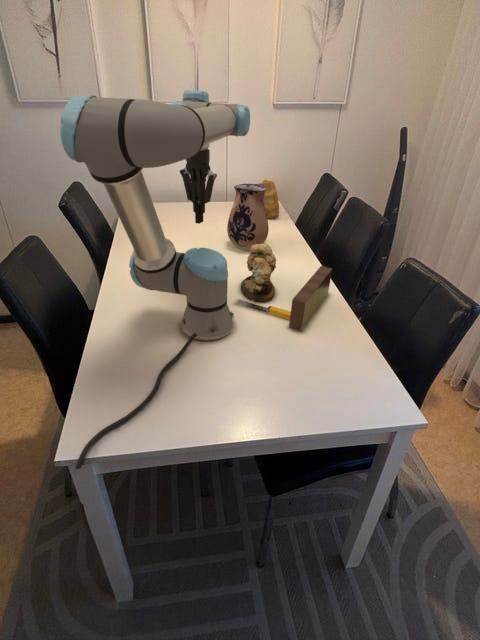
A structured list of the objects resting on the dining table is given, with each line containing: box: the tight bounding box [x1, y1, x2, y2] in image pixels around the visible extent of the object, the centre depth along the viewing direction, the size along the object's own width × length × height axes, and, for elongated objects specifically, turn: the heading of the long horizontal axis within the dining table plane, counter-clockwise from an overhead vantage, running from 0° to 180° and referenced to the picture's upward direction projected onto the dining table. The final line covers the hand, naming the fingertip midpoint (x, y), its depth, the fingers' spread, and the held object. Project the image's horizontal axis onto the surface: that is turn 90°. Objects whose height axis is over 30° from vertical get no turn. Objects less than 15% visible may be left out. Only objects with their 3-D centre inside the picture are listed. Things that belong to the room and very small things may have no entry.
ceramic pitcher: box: [226, 182, 270, 251], centre depth 163 cm, size 18×21×25 cm
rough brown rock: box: [261, 179, 280, 219], centre depth 202 cm, size 23×17×15 cm
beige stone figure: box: [240, 243, 277, 303], centre depth 132 cm, size 18×12×17 cm, turn 11°
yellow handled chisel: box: [235, 299, 291, 321], centre depth 125 cm, size 20×3×2 cm, turn 62°
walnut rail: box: [288, 265, 333, 332], centre depth 124 cm, size 26×4×10 cm, turn 152°
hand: (199, 222), depth 134 cm, fingers closed
